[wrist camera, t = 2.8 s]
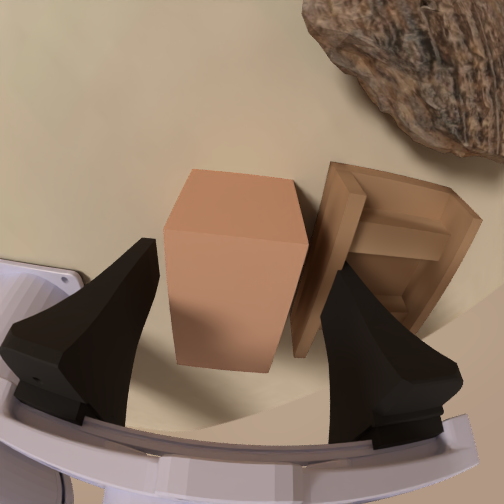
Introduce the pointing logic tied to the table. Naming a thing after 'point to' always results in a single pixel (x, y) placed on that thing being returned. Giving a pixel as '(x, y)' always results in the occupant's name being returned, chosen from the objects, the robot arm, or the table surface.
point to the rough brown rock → (423, 65)
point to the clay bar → (232, 268)
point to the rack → (382, 245)
